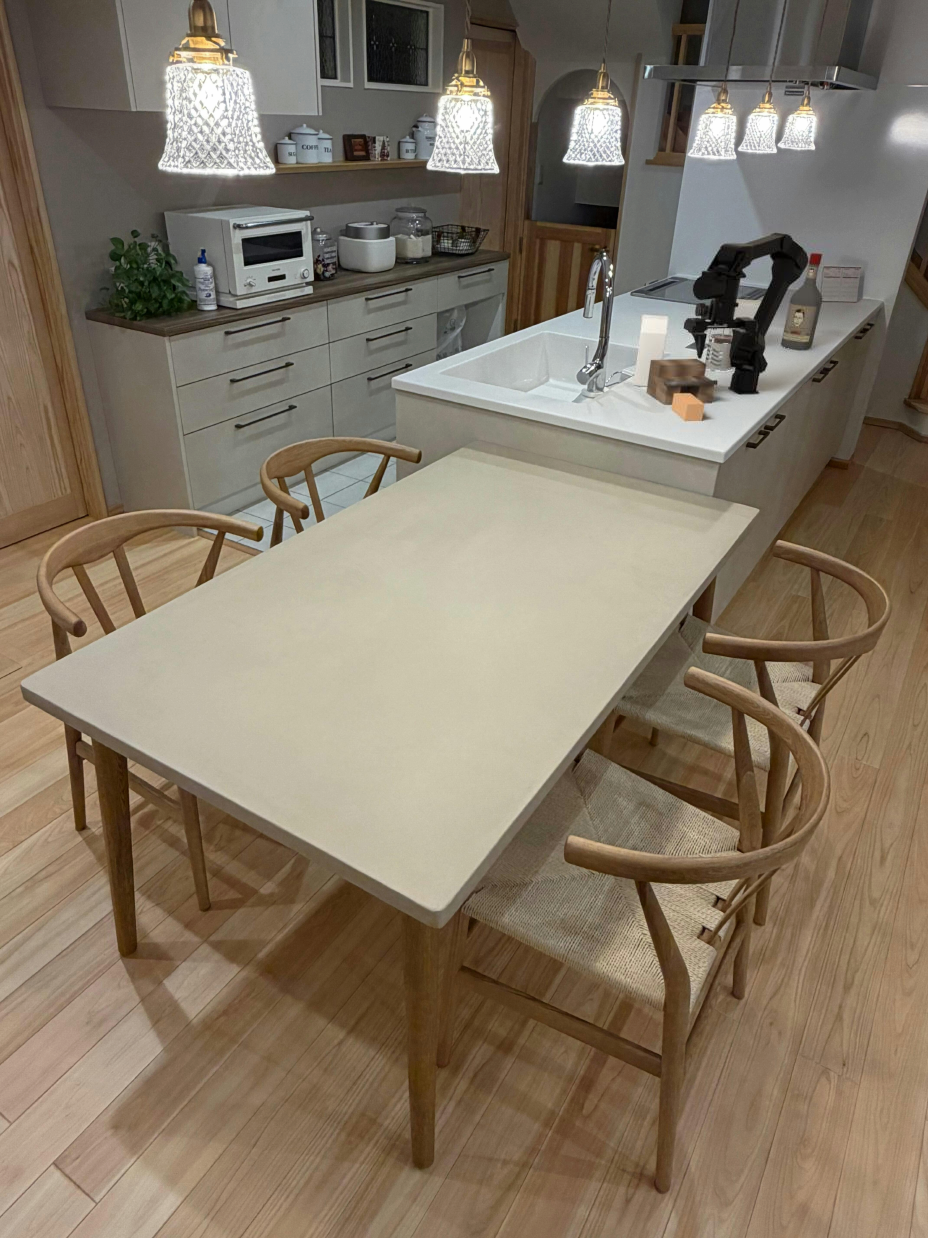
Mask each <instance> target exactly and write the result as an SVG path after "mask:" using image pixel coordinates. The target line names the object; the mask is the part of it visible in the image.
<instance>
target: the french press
mask: <svg viewBox="0 0 928 1238" xmlns="http://www.w3.org/2000/svg"><path fill="white" fill-rule="evenodd" d="M709 330H710V331H709ZM712 330H713V331H714V330H715V331H716V330H717V329H707V330H706V331H705V333H707V332H708V331H709V334H708V335H709V336H708V343H706V341H707V340H706V341H705V347H706V349H707V350H706V354H705V361H704V363H706V369H710V370H720V371H727V370H731V369H733V367H731V365H730V357H729V353H730V348H731V343H732V338H733V336H732V335H729V333H728V334H727V333H724V332H725V329H723V331H722V333H712V334H711V332H712ZM710 337H711V338H710ZM727 343H729V344H727Z"/></svg>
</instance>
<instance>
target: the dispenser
mask: <svg viewBox="0 0 928 1238" xmlns="http://www.w3.org/2000/svg"><path fill="white" fill-rule="evenodd" d="M706 371H707V370H706V363H705V361H702V360H701V359H699V358H678V359H677V358H675V359H674V358H673V359H663V360H651V362H650V370H649V377H648V384H647V386H646V394H648V395H649V396H651V397H652V398H654V399H655V400H657V401H658V402H659V403H661V404H662V405H664V406H669V405H672V402H673V396H674V393H691V394H692V395H693V396H694V397H696V398H697V399H698V400H700V401H701V402H702V403H704V404H712V398H713V394H714V389H715V386H717V385H718V383H719V381H718V380H717V379H715V380H713V379H711V378H710V377H707V376H706V375H705V374H706Z"/></svg>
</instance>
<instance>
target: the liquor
mask: <svg viewBox="0 0 928 1238" xmlns="http://www.w3.org/2000/svg"><path fill="white" fill-rule="evenodd" d="M822 257H823V253H816V252H812V253H810V257H809V259H808V265H807V266H808V267H807V272H806V275H805V280H804V281H803V285H801V286H800V287H799V288H798V289H797V290H796V291H795V292H794V293H792V295H791V297H790V299H789V305H788V308H787V313H786V319H785V323H784V326H783V332H782V338H781V342H780V345H781V347H782V346H783V347H782V348H784V347H785V348H784V349H788V348H789V350H795V351H796V350H797V351H807V350H809V349H811V347H812V346H813V343H814V342H813V341H814V339H815V334H816V330H817V325H818V321H819V316H820V312H821V308H822V302H823V295H822V293H821V292H820V290H819V288H818V287H817V278H818V277H817V276H818V272H819V267H820V265H821V261H822Z"/></svg>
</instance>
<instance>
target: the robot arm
mask: <svg viewBox="0 0 928 1238" xmlns="http://www.w3.org/2000/svg"><path fill="white" fill-rule="evenodd" d="M766 256H769V257H770V259H771V261H772V265H771V268H770V269H771V270H770V271H771V280H770V282H769V285H768V286H767V289H766V291H765V293H764V295H763V297H762V299H761V300H760V301H761V303H760V305H759V307H758V310H757V312H756V314H755V316H754V318H753V319H751V318H749V317H737V318H736V319H733V318H734V312H735V307H738V305H739V303H737V302H736V301H737V299H738V295H739V289H740V284H741V279H746V278H747V275H746V273H745V272H744V269H746V268H748V267H749V266H750V265H752V262H753V261H754V260H757V259H760V258H763V257H766ZM808 265H809V256H808V253H807V251H806V250H805V249H804V247H802V246H801V245H800V244H798V243H797V242H796V241H794V240H793V237H792V236H791V235H789V234H788V233H780V232H774V233H771V234H769V235H768V236H767V235H766V236H764V237H761V238H757V239H755V240H752V241H748V242H745V243H741V242H740V243H738V242H736V243H735V242H732V243H731V242H730V243H729V242H728V243H723V244H722V245H721V246H720V247H719V249H718V251H717V252H716V254H715V255H714V257H713V259H712V261H711V262H710V264H709V266H708V267H707V269H706V270H702V271H701V276H699V277H698V278H696V280H695V281H694V283H693V285H692V292H693V293H692V294H693V296H694V297H695V298H696V299H697V300H699V301H705V300H711V301H710V304H709V305H706V303H705V302H699V303H696V305H695V308H694V309H695V310H694V315H695V317H686V320H685V321H684V323H683V330H685V331H687V332H688V333H690V334H691V335H692V338H693V340H694V344H695V349H696V355H697V359H698V360H701V359H702V358H703V354H704V350H705V347H706V344H705V341H707V336H708V334H707V332H706V330H707V329H708V330H711V329H712V330H713V329H716V330H717V329H719V330H720V329H723V330H724V329H730V328H735V329H732V333H733V338H732V343H731V348H730V353H729V357H730V365H731V367H732V368H734V369H733V370H734V372H733V373H732V374H731V380H730V385H729V386H728V387H727V388H728V389H729V390H730V391H732V392H734V393H736V394H738V395H746V394H747V395H748V394H749V395H750V394H760V391H758V390H757V387H758V384H759V379H760V374H762V373H764V372H765V371H766V369H767V367H768V362H767V359H766V358H765V356H764V352H765V351H766V339H765V338H766V335H767V333H768V330H769V329H770V327H771V324H772V322H773V320H774V318H775V316H776V314H777V312H778V310H779V308H780V307H781V306H780V305H781V304H782V301H783V299H784V298H785V295H786V294H787V292H788V290H789V287H790V286H791V285H793V283H794V282H796V281H797V280H799V279H800V278H801V276H802V275H803V273H804V271H805V270H806V268H808V267H807V266H808ZM708 330H707V331H708Z"/></svg>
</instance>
